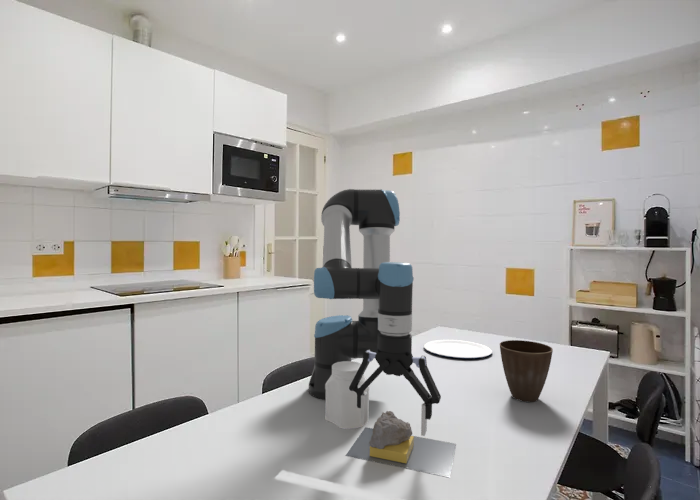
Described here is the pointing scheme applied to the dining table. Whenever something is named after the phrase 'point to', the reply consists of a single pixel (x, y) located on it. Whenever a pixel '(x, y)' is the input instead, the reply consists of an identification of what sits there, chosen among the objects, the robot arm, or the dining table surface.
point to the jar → (343, 396)
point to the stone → (389, 431)
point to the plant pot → (525, 367)
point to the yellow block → (394, 451)
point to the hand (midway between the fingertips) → (393, 427)
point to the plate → (458, 349)
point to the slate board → (412, 454)
